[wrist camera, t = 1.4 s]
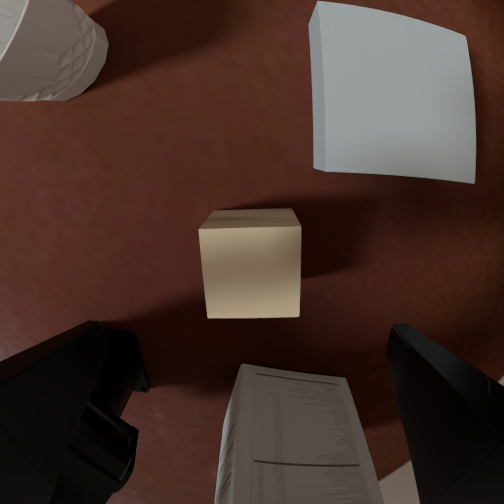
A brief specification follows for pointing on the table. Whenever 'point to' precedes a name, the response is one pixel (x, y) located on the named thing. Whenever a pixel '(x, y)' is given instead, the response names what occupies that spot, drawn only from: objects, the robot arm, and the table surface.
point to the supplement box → (293, 442)
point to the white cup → (48, 50)
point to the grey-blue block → (390, 95)
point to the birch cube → (251, 263)
